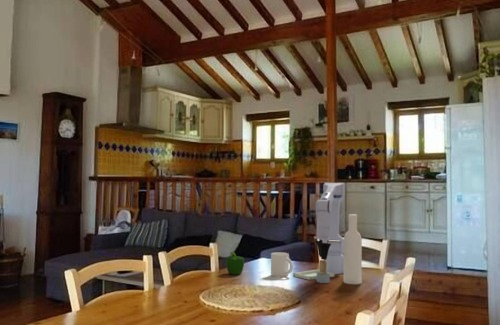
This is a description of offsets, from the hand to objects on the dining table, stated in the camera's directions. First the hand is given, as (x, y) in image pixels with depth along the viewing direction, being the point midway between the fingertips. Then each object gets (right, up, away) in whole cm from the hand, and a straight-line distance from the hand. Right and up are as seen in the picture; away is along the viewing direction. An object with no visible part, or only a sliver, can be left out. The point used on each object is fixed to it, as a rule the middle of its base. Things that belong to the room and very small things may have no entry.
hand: (322, 258), depth 201 cm
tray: (-2, -11, +11) cm, 16 cm away
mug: (-17, -11, +12) cm, 23 cm away
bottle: (+13, -11, -1) cm, 17 cm away
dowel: (0, -10, -1) cm, 10 cm away
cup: (0, -11, -1) cm, 11 cm away
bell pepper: (-39, -11, +16) cm, 44 cm away
